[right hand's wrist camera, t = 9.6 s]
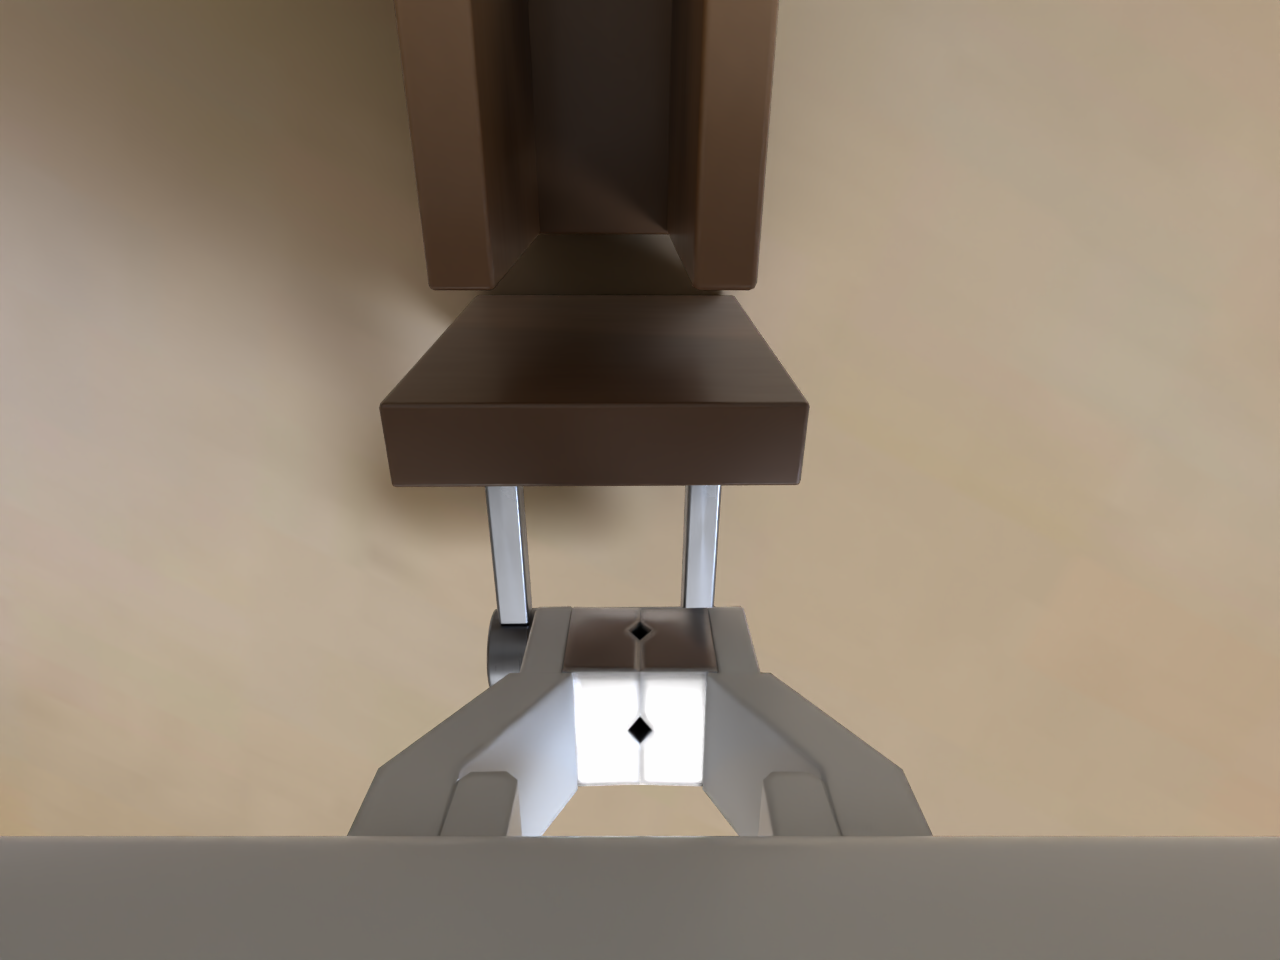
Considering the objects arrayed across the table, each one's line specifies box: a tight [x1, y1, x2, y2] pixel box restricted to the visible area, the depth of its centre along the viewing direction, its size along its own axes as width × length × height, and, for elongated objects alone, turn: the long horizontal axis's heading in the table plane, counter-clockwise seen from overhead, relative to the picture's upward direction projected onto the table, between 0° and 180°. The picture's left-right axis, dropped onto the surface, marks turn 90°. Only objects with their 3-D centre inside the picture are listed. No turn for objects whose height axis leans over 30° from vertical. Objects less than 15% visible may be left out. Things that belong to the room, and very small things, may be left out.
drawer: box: [379, 0, 809, 687], centre depth 10 cm, size 23×6×7 cm, turn 0°
